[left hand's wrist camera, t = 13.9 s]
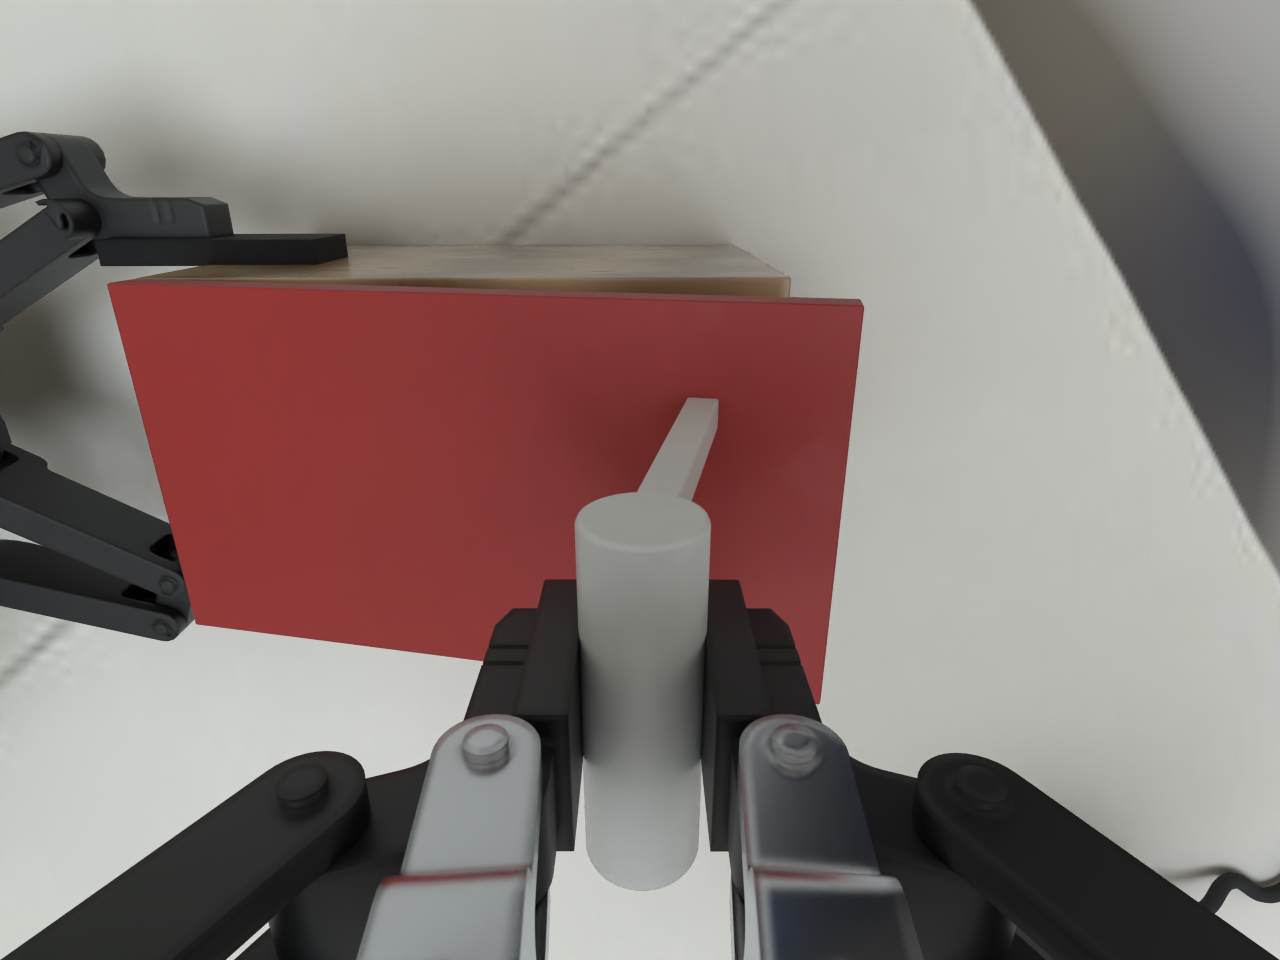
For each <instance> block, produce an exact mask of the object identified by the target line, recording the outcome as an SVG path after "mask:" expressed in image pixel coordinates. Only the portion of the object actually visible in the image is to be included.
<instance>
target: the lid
mask: <svg viewBox="0 0 1280 960" xmlns="http://www.w3.org/2000/svg"><path fill="white" fill-rule="evenodd" d="M107 286H108V290H109V293H110V297H111V301H112V305H113V309H114V313H115V316H116V320H117V324H118V328H119V332H120V335H121V339H122V343H123V347H124V351H125V355H126V358H127V362H128V366H129V370H130V374H131V377H132V381H133V385H134V389H135V393H136V396H137V400H138V404H139V408H140V412H141V416H142V419H143V423H144V427H145V431H146V435H147V438H148V442H149V446H150V450H151V454H152V458H153V461H154V465H155V469H156V473H157V477H158V480H159V484H160V488H161V492H162V496H163V499H164V503H165V507H166V511H167V515H168V519H169V522H170V526H171V530H172V534H173V538H174V541H175V545H176V549H177V553H178V557H179V561H180V564H181V568H182V572H183V576H184V580H185V583H186V587H187V591H188V595H189V599H190V602H191V606H192V610H193V614H194V618H195V622H196V624H199V625H206V626H214V627H222V628H230V629H237V630H245V631H253V632H261V633H269V634H276V635H284V636H292V637H300V638H307V639H315V640H323V641H331V642H339V643H346V644H354V645H362V646H370V647H377V648H385V649H393V650H401V651H408V652H416V653H424V654H432V655H440V656H447V657H455V658H463V659H471V660H478V661H483V660H484V657H485V654H486V651H487V649H488V648H489V642H490V639H491V636H492V633H493V630H494V627H495V625H496V624H497V623H498V622H499V621H500V620H501V619H502V618H503V617H504V616H505V615H506V614H507V613H509V612H510V611H511V610H512V609H513V608H538V604H539V600H540V596H541V592H542V588H543V584H544V581H545V579H577V606H578V631H579V649H580V677H581V704H582V732H583V770H584V797H585V825H586V847H587V852H588V856H589V858H590V860H591V862H592V864H593V866H594V867H595V868H596V870H597V871H598V872H599V873H600V874H601V875H602V876H603V877H604V878H605V879H607V880H608V881H610V882H611V883H613V884H615V885H617V886H620V887H622V888H626V889H630V890H637V891H647V890H655V889H659V888H662V887H665V886H668V885H670V884H672V883H674V882H675V881H677V880H678V879H680V878H681V877H682V876H683V875H684V874H685V873H686V872H687V871H688V869H689V868H690V867H691V865H692V863H693V862H694V860H695V857H696V855H697V851H698V842H699V817H700V792H701V767H702V765H701V741H702V716H703V690H704V664H705V639H706V634H707V615H708V590H709V579H729V580H739V581H740V585H741V589H742V593H743V597H744V601H745V605H746V608H771V609H772V610H773V611H774V612H775V613H776V614H777V615H778V616H779V617H780V618H781V619H783V620H784V621H785V622H786V623H787V624H788V625H789V628H790V630H791V633H792V636H793V639H794V642H795V648H796V649H797V651H798V654H799V657H800V660H801V665H802V666H803V669H804V672H805V675H806V678H807V681H808V683H809V686H810V689H811V692H812V695H813V698H814V701H815V704H819V703H820V698H821V689H822V680H823V672H824V663H825V654H826V645H827V636H828V627H829V618H830V609H831V600H832V591H833V582H834V573H835V564H836V555H837V546H838V537H839V528H840V519H841V510H842V501H843V492H844V483H845V474H846V465H847V456H848V447H849V438H850V429H851V420H852V411H853V402H854V393H855V384H856V376H857V367H858V358H859V349H860V340H861V331H862V322H863V313H864V306H863V304H862V302H861V300H859V299H833V298H797V297H761V296H726V295H690V294H655V293H619V292H584V291H548V290H512V289H477V288H441V287H406V286H370V285H334V284H299V283H263V282H228V281H192V280H157V279H133V280H126V281H119V282H112V283H108V284H107Z"/></svg>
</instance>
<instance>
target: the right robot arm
mask: <svg viewBox="0 0 1280 960" xmlns="http://www.w3.org/2000/svg"><path fill="white" fill-rule="evenodd" d="M105 162H106V159H105V156H104V153H103V151H102V149H101V148H100V147H99V145H98V144H97V143H95V142H94V141H93V140H91V139H89V138H86V137H82V136H70V135H59V134H47V133H35V132H17V133H14V134H11V135H8V136H5V137H2V138H0V208H3V207H6V206H9V205H12V204H15V203H18V202H21V201H24V200H27V199H30V198H33V197H36V196H39V195H42V194H45V195H46V197H47V199H41V200H39V201H36V203H37V205H47V207H46V208H44V209H43V210H42V211H40V212H39V213H37V214H36V215H35V216H33V217H32V218H31V219H29V220H28V221H26V222H25V223H24V224H22V225H21V226H19V227H18V228H17V229H15V230H14V231H13V232H11V233H10V234H8V235H7V236H6V237H4V238H3V239H1V240H0V331H2V330H3V329H4V327H3V326H2V325H3V324H5V323H6V322H7V321H9V320H10V319H12V318H13V317H15V316H16V315H17V314H19V313H20V312H22V311H23V310H25V309H26V308H28V307H29V306H30V305H32V304H33V303H35V302H36V301H38V300H39V299H41V298H42V297H43V296H45V295H46V294H48V293H49V292H51V291H52V290H54V289H55V288H56V287H58V286H59V285H61V284H62V283H64V282H65V281H67V280H68V279H69V278H71V277H72V276H74V275H75V274H77V273H78V272H80V271H81V270H82V269H84V268H85V267H87V266H88V265H90V264H91V263H92V262H94V261H95V260H97V259H98V258H99V261H100V264H101V266H204V265H317V264H321V263H325V262H329V261H333V260H337V259H341V258H345V257H348V251H347V244H346V237H345V234H234V233H233V228H232V223H231V218H230V213H229V208H228V204H227V203H224V202H222V201H219V200H216V199H214V198H211V197H131V196H128V195H126V194H124V193H122V192H121V191H119V190H118V189H117V188H116V187H115V186H114V185H113V184H112V183H111V181H110V180H109V178H108V176H107V175H106V173H105V171H104V168H105ZM11 443H12V442H11V439H10V436H9V433H8V430H7V427H6V424H5V422H4V421H3V419H2V417H1V416H0V528H2V529H5V530H7V531H9V532H12V533H14V534H17V535H19V536H21V537H24V538H26V539H28V540H31V541H33V542H35V543H38V544H40V545H37V544H32V543H27V542H22V541H16V540H0V606H4V607H8V608H13V609H18V610H22V611H27V612H31V613H36V614H41V615H45V616H50V617H55V618H59V619H64V620H68V621H73V622H78V623H82V624H87V625H92V626H96V627H101V628H105V629H110V630H115V631H119V632H124V633H129V634H133V635H138V636H142V637H147V638H152V639H156V640H161V641H170V640H173V639H175V638H176V637H177V636H178V635H179V634H180V633H181V632H182V631H183V630H184V629H185V628H186V627H187V626H188V625H189V624H190V623H191V622H192V621H193V620H194V619H195V618H194V614H193V610H192V606H191V602H190V599H189V595H188V591H187V587H186V583H185V580H184V576H183V572H182V568H181V564H180V561H179V557H178V553H177V549H176V545H175V541H174V538H173V534H172V530H171V526H170V524H169V523H167V522H164V521H162V520H160V519H158V518H155V517H153V516H151V515H149V514H146V513H144V512H142V511H140V510H137V509H135V508H133V507H131V506H128V505H126V504H124V503H122V502H119V501H117V500H115V499H113V498H110V497H108V496H106V495H104V494H101V493H99V492H97V491H95V490H92V489H90V488H88V487H86V486H83V485H81V484H79V483H77V482H74V481H72V480H70V479H68V478H65V477H63V476H61V475H59V474H56V473H54V472H52V471H50V470H48V468H47V462H46V461H45V460H44V459H42V458H41V457H39V456H36V455H34V454H32V453H30V452H27V451H25V450H23V449H21V448H18V447H16V446H14V445H12V444H11ZM41 545H42V546H41Z"/></svg>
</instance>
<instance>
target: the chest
mask: <svg viewBox="0 0 1280 960" xmlns="http://www.w3.org/2000/svg"><path fill="white" fill-rule="evenodd" d="M347 251H348V257H345V258H341V259H337V260H333V261H329V262H325V263H321V264H317V265H204V266H199V267H194V268H189V269H183V270H178V271H173V272H168V273H162V274H157V275H152V276H147V277H141V278H137V279H157V280H192V281H228V282H263V283H299V284H334V285H370V286H406V287H441V288H477V289H512V290H548V291H584V292H619V293H655V294H690V295H726V296H761V297H790V284H791V278H790V277H788V276H787V275H785V274H783V273H781V272H780V271H778V270H776V269H774V268H773V267H771V266H769V265H768V264H766V263H764V262H762V261H761V260H759V259H757V258H755V257H754V256H752V255H750V254H749V253H747V252H745V251H743V250H742V249H740V248H738V247H736V246H734V245H347Z"/></svg>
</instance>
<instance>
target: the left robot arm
mask: <svg viewBox="0 0 1280 960" xmlns="http://www.w3.org/2000/svg"><path fill="white" fill-rule="evenodd" d="M582 764H583V732H582V704H581V677H580V649H579V631H578V606H577V579H545V581H544V584H543V588H542V592H541V596H540V600H539V604H538V608H513V609H512V610H511V611H510V612H509V613H507V614H506V615H505V616H504V617H503V618H502V619H501V620H500V621H499V622H498V623H497V624H496V625H495V627H494V630H493V633H492V636H491V639H490V642H489V648H488V649H487V651H486V654H485V657H484V660H483V665H482V666H481V669H480V672H479V675H478V678H477V681H476V684H475V687H474V691H473V694H472V697H471V700H470V703H469V706H468V709H467V712H466V715H465V718H464V721H462V722H460V723H458V724H456V725H455V726H453V727H452V728H450V729H449V730H448V731H446V732H445V733H444V734H443V735H442V736H441V737H440V738H439V739H438V741H437V742H436V744H435V746H434V748H433V750H432V753H431V757H430V759H429V760H427V761H425V762H423V763H421V764H418V765H416V766H413V767H410V768H407V769H403V770H399V771H395V772H391V773H387V774H383V775H379V776H375V777H370V778H366V779H365V773H364V769H363V767H362V765H361V764H360V763H359V762H358V761H357V760H356V759H354V758H353V757H351V756H349V755H347V754H344V753H340V752H333V751H320V752H312V753H307V754H303V755H299V756H296V757H293V758H291V759H288V760H286V761H284V762H282V763H280V764H278V765H276V766H274V767H273V768H271V769H269V770H268V771H266V772H265V773H264V774H262V775H261V776H259V777H258V778H257V779H255V780H254V781H252V782H251V783H249V784H248V785H247V786H245V787H244V788H242V789H241V790H240V791H238V792H237V793H235V794H234V795H233V796H231V797H230V798H228V799H227V800H225V801H224V802H223V803H221V804H220V805H218V806H217V807H216V808H214V809H213V810H211V811H210V812H209V813H207V814H206V815H204V816H203V817H201V818H200V819H199V820H197V821H196V822H194V823H193V824H192V825H190V826H189V827H187V828H186V829H185V830H183V831H182V832H180V833H179V834H177V835H176V836H175V837H173V838H172V839H170V840H169V841H168V842H166V843H165V844H163V845H162V846H161V847H159V848H158V849H156V850H155V851H154V852H152V853H151V854H149V855H148V856H146V857H145V858H144V859H142V860H141V861H139V862H138V863H137V864H135V865H134V866H132V867H131V868H130V869H128V870H127V871H125V872H124V873H122V874H121V875H120V876H118V877H117V878H115V879H114V880H113V881H111V882H110V883H108V884H107V885H106V886H104V887H103V888H101V889H100V890H98V891H97V892H96V893H94V894H93V895H91V896H90V897H89V898H87V899H86V900H84V901H83V902H82V903H80V904H79V905H77V906H76V907H74V908H73V909H72V910H70V911H69V912H67V913H66V914H65V915H63V916H62V917H60V918H59V919H58V920H56V921H55V922H53V923H52V924H51V925H49V926H48V927H46V928H45V929H43V930H42V931H41V932H39V933H38V934H36V935H35V936H34V937H32V938H31V939H29V940H28V941H27V942H25V943H24V944H22V945H21V946H19V947H18V948H17V949H15V950H14V951H12V952H11V953H10V954H8V955H7V956H5V957H4V958H3V959H1V960H226V959H227V958H228V957H229V956H230V955H232V954H233V953H234V952H235V951H236V950H237V949H238V948H239V947H241V946H242V945H243V944H244V943H245V942H246V941H247V940H248V939H249V938H251V937H252V936H253V935H254V934H255V933H256V932H257V931H258V930H260V929H261V928H262V927H263V926H264V925H265V924H266V923H267V922H269V926H270V928H269V929H268V930H267V931H266V932H264V933H263V934H262V935H261V936H260V937H259V938H258V939H257V940H256V941H254V942H253V943H252V944H251V945H250V946H249V947H248V948H247V949H246V950H245V951H243V952H242V953H241V954H240V955H239V956H238V957H237V958H236V959H235V960H548V948H549V923H550V885H551V882H552V878H553V873H554V865H555V857H556V851H574V846H575V836H576V826H577V815H578V805H579V795H580V785H581V775H582ZM701 765H702V775H703V784H704V794H705V803H706V813H707V822H708V832H709V841H710V851H729V858H730V866H731V887H730V923H731V948H732V960H1279V959H1277V958H1276V957H1275V956H1273V955H1272V954H1270V953H1269V952H1268V951H1266V950H1265V949H1263V948H1262V947H1261V946H1259V945H1258V944H1256V943H1255V942H1254V941H1252V940H1251V939H1249V938H1248V937H1246V936H1245V935H1244V934H1242V933H1241V932H1239V931H1238V930H1237V929H1235V928H1234V927H1232V926H1231V925H1230V924H1228V923H1227V922H1225V921H1224V920H1222V919H1221V918H1220V917H1218V916H1217V915H1215V913H1216V912H1217V911H1218V910H1219V908H1220V907H1221V906H1222V904H1223V902H1224V901H1225V899H1226V897H1227V895H1228V894H1229V892H1230V891H1231V890H1232V889H1236V888H1237V889H1239V890H1241V891H1242V892H1243V893H1245V894H1246V895H1247V896H1249V897H1250V898H1252V899H1254V900H1256V901H1259V902H1264V903H1276V902H1280V882H1279V883H1277V884H1276V885H1273V886H1270V887H1266V888H1261V887H1259V886H1257V885H1255V884H1254V883H1253V882H1251V881H1250V880H1249V879H1247V878H1246V877H1244V876H1242V875H1240V874H1235V873H1225V874H1223V875H1221V876H1219V877H1218V878H1217V879H1216V880H1215V881H1214V882H1213V883H1212V884H1211V886H1210V888H1209V890H1208V891H1207V893H1206V895H1205V896H1204V898H1203V899H1202V900H1201V901H1200V902H1197V901H1196V900H1194V899H1193V898H1191V897H1190V896H1189V895H1187V894H1186V893H1184V892H1183V891H1182V890H1180V889H1179V888H1177V887H1176V886H1174V885H1173V884H1172V883H1170V882H1169V881H1167V880H1166V879H1165V878H1163V877H1162V876H1160V875H1159V874H1158V873H1156V872H1155V871H1153V870H1152V869H1151V868H1149V867H1148V866H1146V865H1145V864H1143V863H1142V862H1141V861H1139V860H1138V859H1136V858H1135V857H1134V856H1132V855H1131V854H1129V853H1128V852H1127V851H1125V850H1124V849H1122V848H1121V847H1119V846H1118V845H1117V844H1115V843H1114V842H1112V841H1111V840H1110V839H1108V838H1107V837H1105V836H1104V835H1103V834H1101V833H1100V832H1098V831H1097V830H1095V829H1094V828H1093V827H1091V826H1090V825H1088V824H1087V823H1086V822H1084V821H1083V820H1081V819H1080V818H1079V817H1077V816H1076V815H1074V814H1073V813H1071V812H1070V811H1069V810H1067V809H1066V808H1064V807H1063V806H1062V805H1060V804H1059V803H1057V802H1056V801H1055V800H1053V799H1052V798H1050V797H1049V796H1048V795H1046V794H1045V793H1043V792H1042V791H1040V790H1039V789H1038V788H1036V787H1035V786H1033V785H1032V784H1031V783H1029V782H1028V781H1026V780H1025V779H1024V778H1022V777H1021V776H1019V775H1018V774H1016V773H1015V772H1013V771H1012V770H1010V769H1009V768H1007V767H1005V766H1003V765H1001V764H999V763H997V762H995V761H992V760H990V759H987V758H984V757H980V756H977V755H971V754H964V753H947V754H942V755H938V756H935V757H933V758H931V759H929V760H928V761H926V762H925V763H924V764H923V765H922V767H921V768H920V770H919V772H918V778H914V777H910V776H906V775H901V774H897V773H893V772H889V771H885V770H881V769H878V768H874V767H871V766H869V765H866V764H864V763H861V762H859V761H857V760H856V759H854V758H852V757H850V756H849V753H848V750H847V748H846V746H845V744H844V742H843V741H842V739H841V738H840V737H839V736H838V735H837V734H836V733H835V732H834V731H832V730H831V729H830V728H828V727H827V726H825V725H824V724H822V722H821V719H820V716H819V713H818V710H817V707H816V704H815V701H814V698H813V695H812V692H811V689H810V686H809V683H808V681H807V678H806V675H805V672H804V669H803V666H802V665H801V660H800V657H799V654H798V651H797V649H796V648H795V642H794V639H793V636H792V633H791V630H790V628H789V625H788V624H787V623H786V622H785V621H784V620H783V619H781V618H780V617H779V616H778V615H777V614H776V613H775V612H774V611H773V610H772V609H771V608H746V605H745V601H744V597H743V593H742V589H741V585H740V581H739V580H729V579H709V590H708V615H707V634H706V639H705V664H704V690H703V716H702V741H701Z"/></svg>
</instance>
